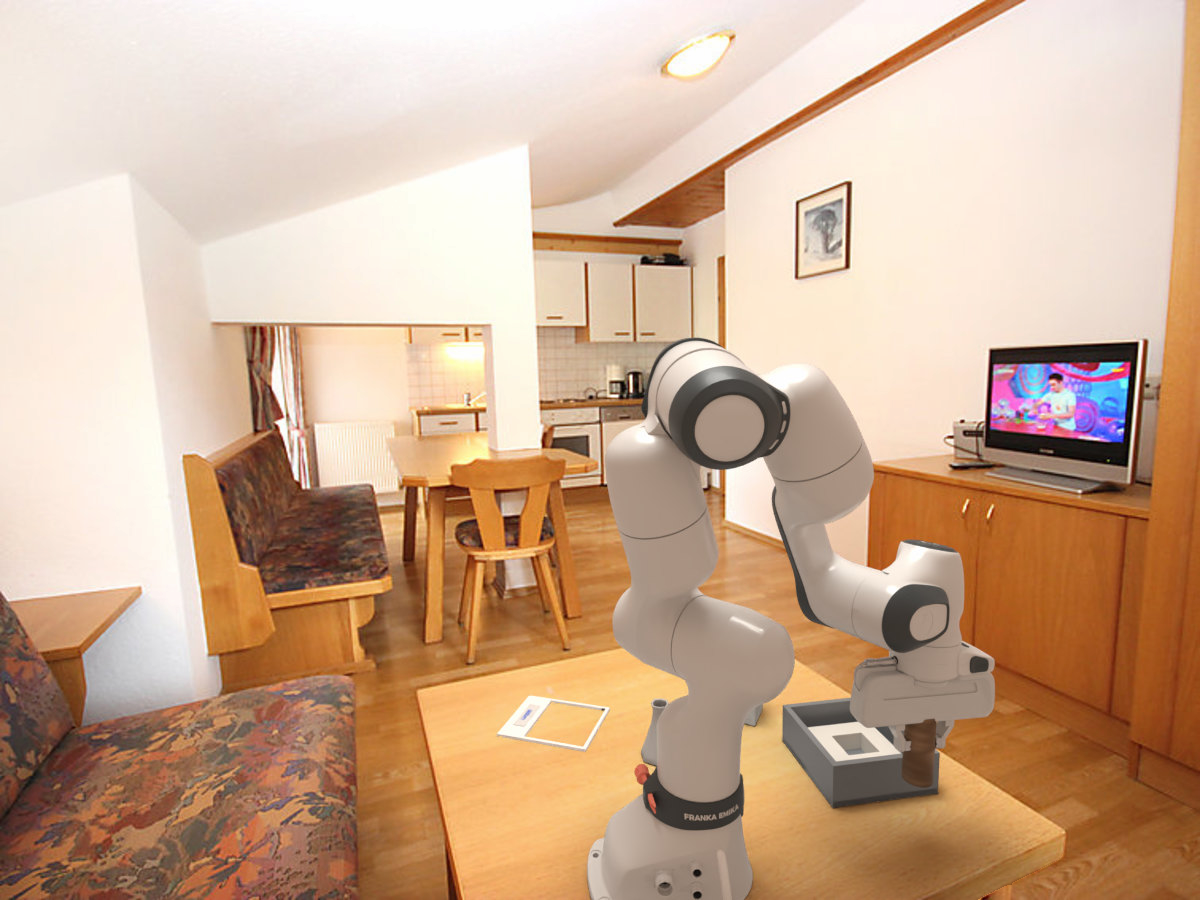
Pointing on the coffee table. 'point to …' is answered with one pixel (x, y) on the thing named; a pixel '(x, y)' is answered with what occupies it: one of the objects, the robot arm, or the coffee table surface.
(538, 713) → the photo frame
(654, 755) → the flask
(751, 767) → the coffee table surface
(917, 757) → the peg
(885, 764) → the bin
